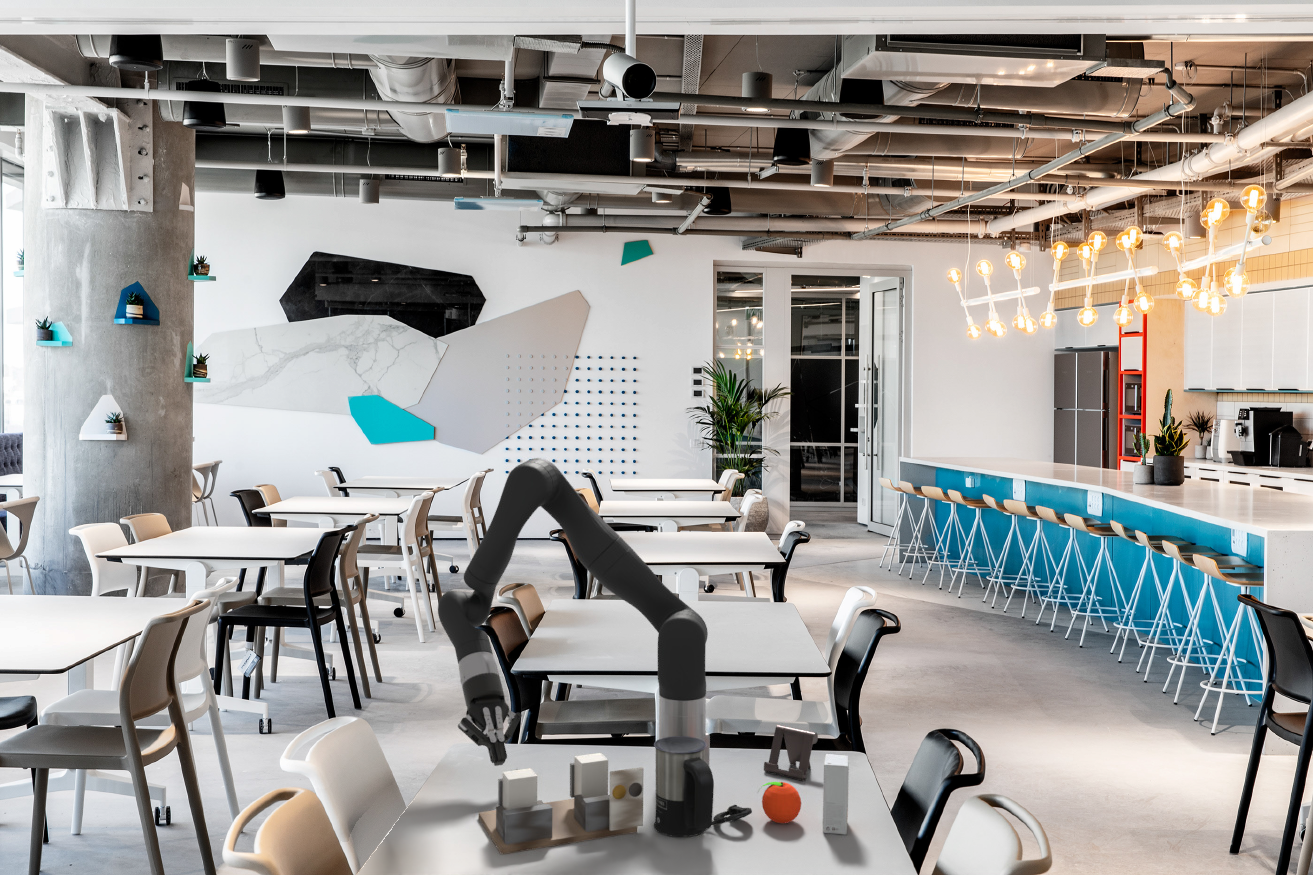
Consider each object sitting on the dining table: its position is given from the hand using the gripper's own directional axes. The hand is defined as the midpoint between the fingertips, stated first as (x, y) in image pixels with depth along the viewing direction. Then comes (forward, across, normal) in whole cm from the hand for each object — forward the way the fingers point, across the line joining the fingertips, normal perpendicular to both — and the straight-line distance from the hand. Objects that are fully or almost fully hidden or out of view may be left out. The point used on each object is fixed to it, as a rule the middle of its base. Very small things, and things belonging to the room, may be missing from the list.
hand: (500, 763), depth 193 cm
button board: (+16, +4, -9) cm, 19 cm away
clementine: (+27, +38, -24) cm, 52 cm away
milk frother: (+24, +25, -20) cm, 40 cm away
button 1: (+15, -4, -9) cm, 18 cm away
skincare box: (+32, +45, -30) cm, 62 cm away
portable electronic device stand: (+14, +56, -11) cm, 59 cm away
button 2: (+14, +11, -9) cm, 20 cm away
